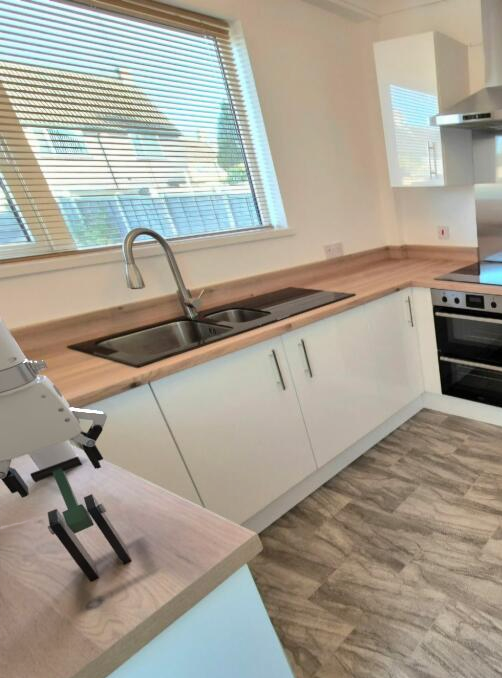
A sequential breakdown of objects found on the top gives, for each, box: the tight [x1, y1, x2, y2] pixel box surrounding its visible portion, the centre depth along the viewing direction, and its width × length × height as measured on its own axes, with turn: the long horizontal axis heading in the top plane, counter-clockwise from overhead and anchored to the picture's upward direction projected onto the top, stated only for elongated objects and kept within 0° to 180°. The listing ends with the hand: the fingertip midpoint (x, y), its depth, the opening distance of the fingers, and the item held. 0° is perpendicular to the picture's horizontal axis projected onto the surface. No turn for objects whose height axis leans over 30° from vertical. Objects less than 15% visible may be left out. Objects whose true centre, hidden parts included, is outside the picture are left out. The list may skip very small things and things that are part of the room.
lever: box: [30, 455, 94, 534], centre depth 65 cm, size 13×6×2 cm, turn 49°
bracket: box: [47, 493, 132, 583], centre depth 65 cm, size 10×8×13 cm
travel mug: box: [28, 440, 81, 473], centre depth 90 cm, size 6×7×20 cm
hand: (62, 478), depth 68 cm, fingers open, 8 cm apart
